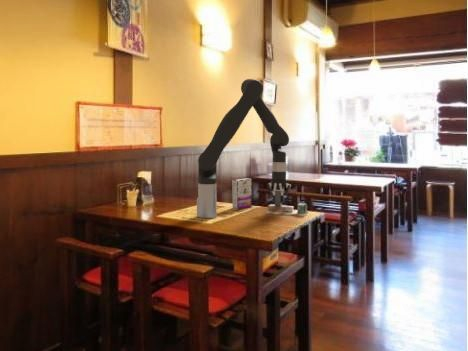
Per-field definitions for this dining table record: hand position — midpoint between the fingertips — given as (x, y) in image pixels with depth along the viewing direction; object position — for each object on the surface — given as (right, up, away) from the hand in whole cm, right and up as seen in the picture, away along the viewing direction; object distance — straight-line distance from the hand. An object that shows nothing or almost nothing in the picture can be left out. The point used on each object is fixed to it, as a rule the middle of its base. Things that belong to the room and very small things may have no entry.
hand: (278, 202), depth 216 cm
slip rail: (+5, -6, -1) cm, 8 cm away
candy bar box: (-19, -4, +14) cm, 24 cm away
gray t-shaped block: (+1, -4, 0) cm, 5 cm away
